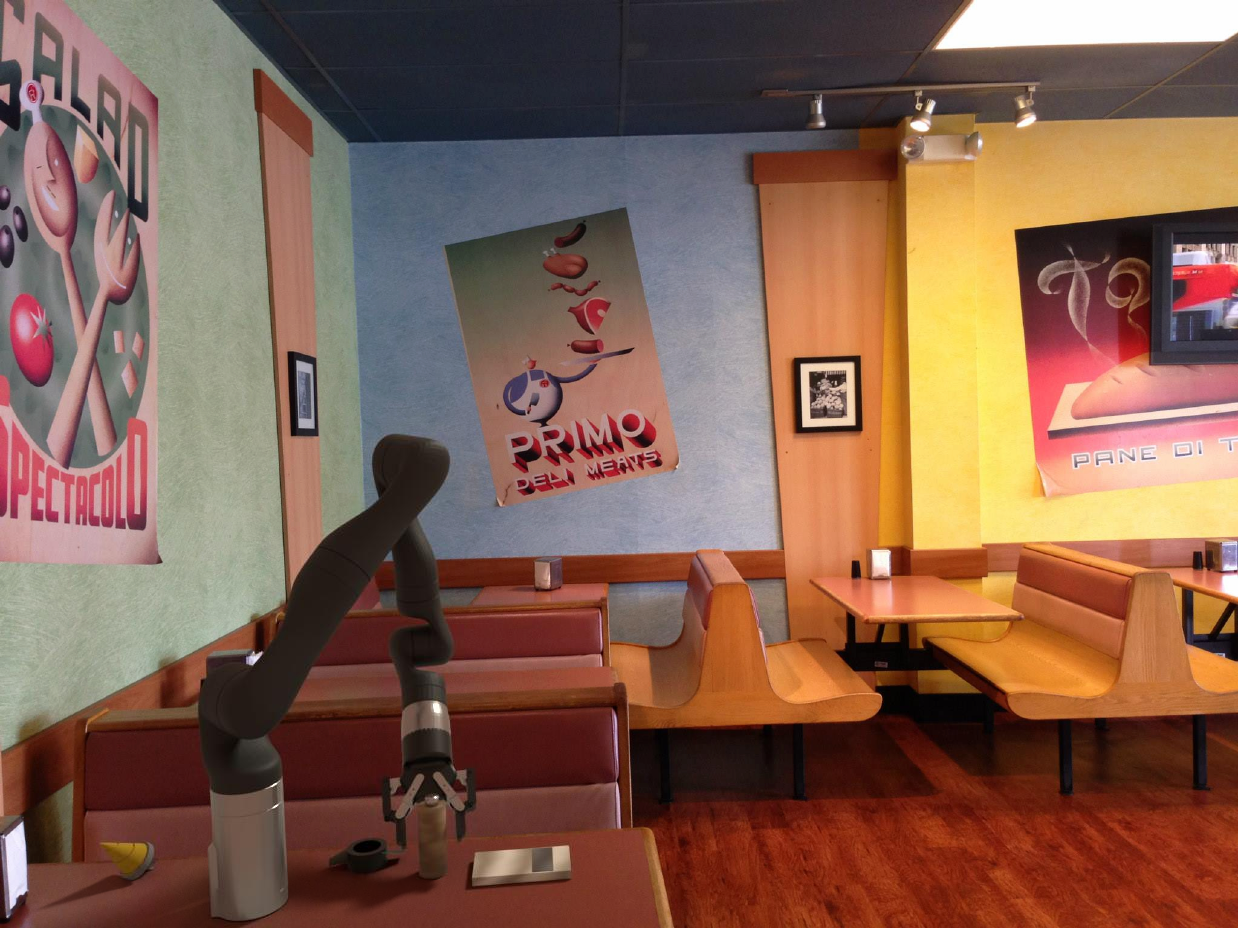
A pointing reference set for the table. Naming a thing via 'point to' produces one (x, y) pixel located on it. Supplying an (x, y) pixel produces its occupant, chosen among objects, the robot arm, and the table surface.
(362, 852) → the black winged cup
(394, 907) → the table surface
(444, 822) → the wooden pepper mill
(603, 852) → the table surface
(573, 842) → the table surface
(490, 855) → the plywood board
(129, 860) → the yellow party hat
